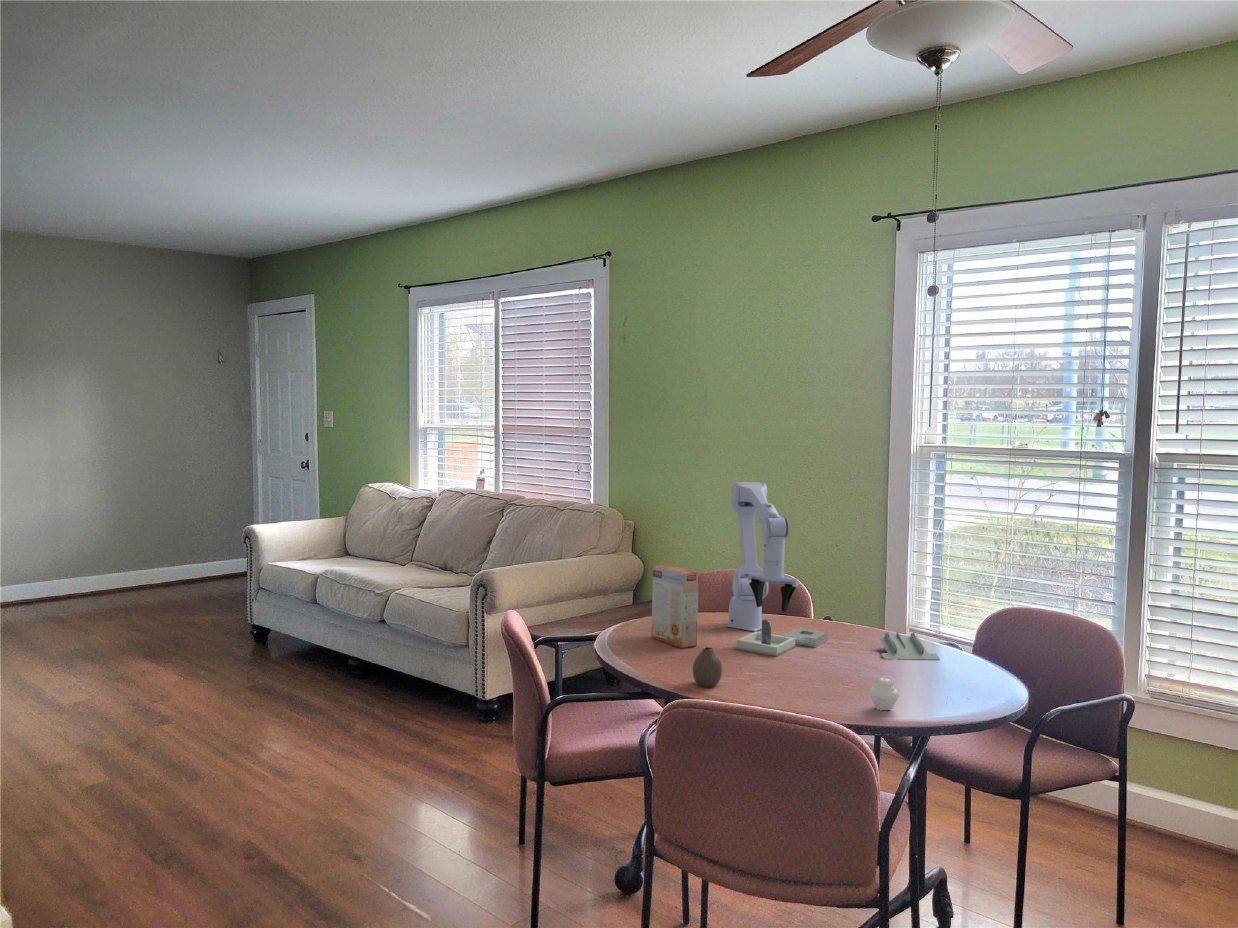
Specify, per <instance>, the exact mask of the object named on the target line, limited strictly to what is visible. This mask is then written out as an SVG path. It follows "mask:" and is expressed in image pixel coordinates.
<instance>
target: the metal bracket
mask: <svg viewBox="0 0 1238 928" xmlns="http://www.w3.org/2000/svg"><path fill="white" fill-rule="evenodd" d="M878 638H879V640H880V642H881V643H882V645H883V647H884V649H885V651H886V652H881V656H882V659H884V660H886V661H887V660H888V661H890V660H889V659H897V660H896V661H900V660H901V661H904V660H905V661H930V662H931V661H933V662H935V661H939V662H940V660H941V659H940V658H941V657H939V655H938V654H937V653H929V652H928V650H927V649H926V647H925V646H924V644H923V643H922V640H920V638H919V637H918V636H917V635H916V634H915V632H911V633H910V635H904V634H903V635H900V633H899V631H896V634H894V635H893V634H892V635H891V634H890V633H889V632H887V631H885V633H884V634H879V635H878Z"/></svg>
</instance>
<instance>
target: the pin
mask: <svg viewBox="0 0 1238 928" xmlns="http://www.w3.org/2000/svg"><path fill="white" fill-rule="evenodd" d="M761 624H762V629H761V632H762V635H761V643H762V644H767V645H771V634H772V620H770V619H761Z"/></svg>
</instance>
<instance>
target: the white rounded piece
mask: <svg viewBox="0 0 1238 928" xmlns="http://www.w3.org/2000/svg"><path fill="white" fill-rule="evenodd" d="M869 694H870V699H871V700H872V703H873V704H874V707H875V709H876V708H879V709H882V710H890V709H891V710H892V709H893V707H894V706H895V705H896V703H897V701H898V699H899V697H900V694H899V691H898V690H897V689H896V688H895V686H894V683H893V681H892V680H891V679H889V678H886V677H881V678H878V679H876V683H875V684H874V686H872V687H871V688H870V689H869ZM891 710H890V711H891Z"/></svg>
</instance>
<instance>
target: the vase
mask: <svg viewBox="0 0 1238 928" xmlns="http://www.w3.org/2000/svg"><path fill="white" fill-rule="evenodd" d="M722 673H723V667H722V663H721V660H720V658H719V657H718V656H717V654H716V652H715V651H714V648H712V647H710V646H709V647H708V646H707V647H703V648H702V650H701V652H699V654H698V655H697V657H696V658H695V659H694V662H693V664H692V676H693V680H694V681H695V682H696V684H697V685H698V686H699V685H700V687H702V688H714V687H715V686H717V685H718V684H719V682H720V680H721V678H722V676H723V675H722Z"/></svg>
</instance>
